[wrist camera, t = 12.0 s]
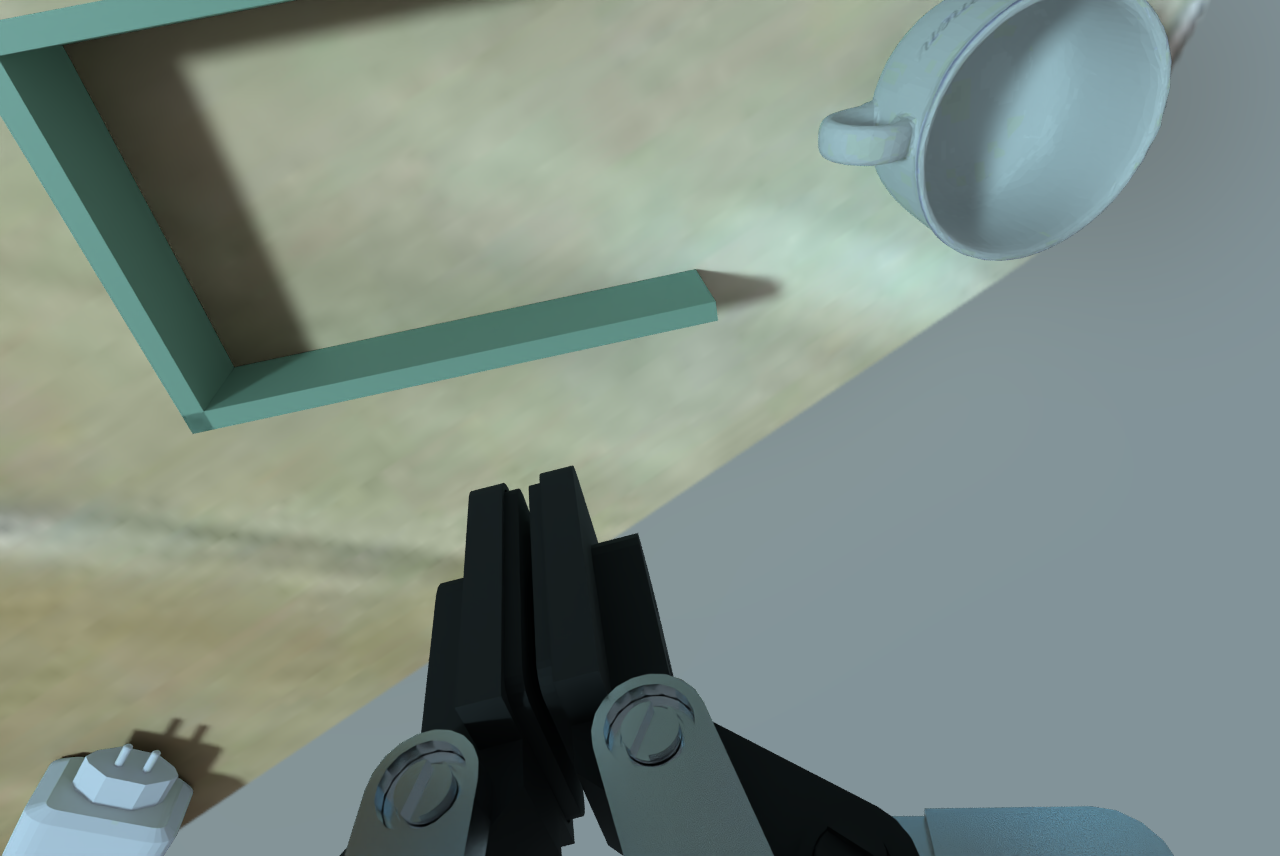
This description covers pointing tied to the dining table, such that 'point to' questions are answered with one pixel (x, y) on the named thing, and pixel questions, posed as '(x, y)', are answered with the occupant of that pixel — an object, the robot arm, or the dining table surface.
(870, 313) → the dining table surface
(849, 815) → the robot arm
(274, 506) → the dining table surface
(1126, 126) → the teacup
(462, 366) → the green u-shaped border
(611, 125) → the dining table surface
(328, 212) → the dining table surface
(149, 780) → the charger
